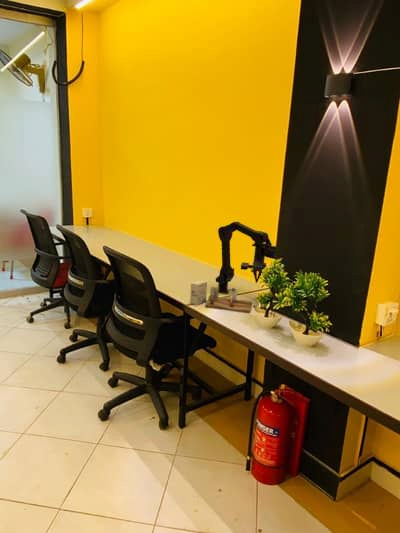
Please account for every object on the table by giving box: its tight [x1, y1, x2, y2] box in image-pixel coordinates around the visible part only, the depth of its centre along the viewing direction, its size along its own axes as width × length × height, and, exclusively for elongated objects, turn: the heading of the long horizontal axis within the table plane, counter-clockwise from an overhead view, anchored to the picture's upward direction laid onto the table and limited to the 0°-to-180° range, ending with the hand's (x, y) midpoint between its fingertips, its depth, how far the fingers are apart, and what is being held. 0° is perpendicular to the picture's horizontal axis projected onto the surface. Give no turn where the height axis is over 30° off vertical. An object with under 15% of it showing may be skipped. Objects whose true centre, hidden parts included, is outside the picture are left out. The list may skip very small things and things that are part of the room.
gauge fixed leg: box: [209, 286, 219, 303], centre depth 215 cm, size 9×4×6 cm, turn 168°
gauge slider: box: [228, 288, 238, 305], centre depth 213 cm, size 9×4×7 cm, turn 168°
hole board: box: [204, 295, 253, 314], centre depth 214 cm, size 13×24×3 cm, turn 78°
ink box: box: [189, 279, 208, 306], centre depth 214 cm, size 9×5×12 cm, turn 141°
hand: (256, 282), depth 219 cm, fingers closed
